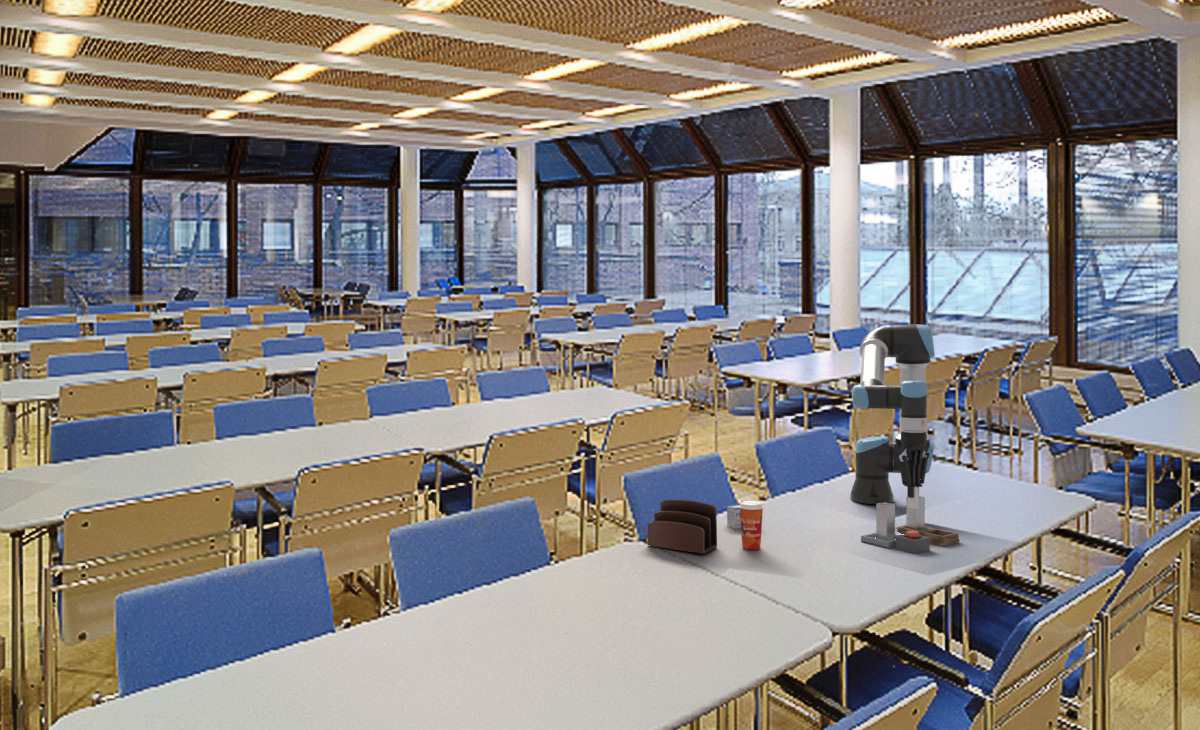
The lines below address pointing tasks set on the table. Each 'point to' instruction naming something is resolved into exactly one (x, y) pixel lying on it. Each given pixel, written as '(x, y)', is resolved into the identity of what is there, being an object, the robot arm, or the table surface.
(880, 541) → the tray
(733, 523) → the medicine box
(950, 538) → the wooden tray
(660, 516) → the letter holder
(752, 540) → the paper cup
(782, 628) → the table surface
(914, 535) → the button
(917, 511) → the billet
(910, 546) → the button housing
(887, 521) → the block
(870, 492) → the robot arm
